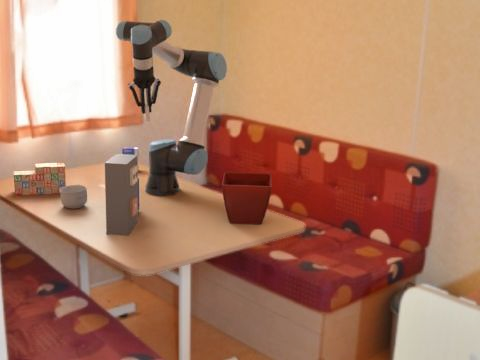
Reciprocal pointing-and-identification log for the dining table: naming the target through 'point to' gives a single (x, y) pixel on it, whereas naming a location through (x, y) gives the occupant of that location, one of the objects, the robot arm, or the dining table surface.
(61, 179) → the stack of blocks
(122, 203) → the button post
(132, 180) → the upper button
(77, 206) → the teacup
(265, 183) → the plant pot
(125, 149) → the walkman
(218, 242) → the dining table surface
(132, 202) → the lower button
